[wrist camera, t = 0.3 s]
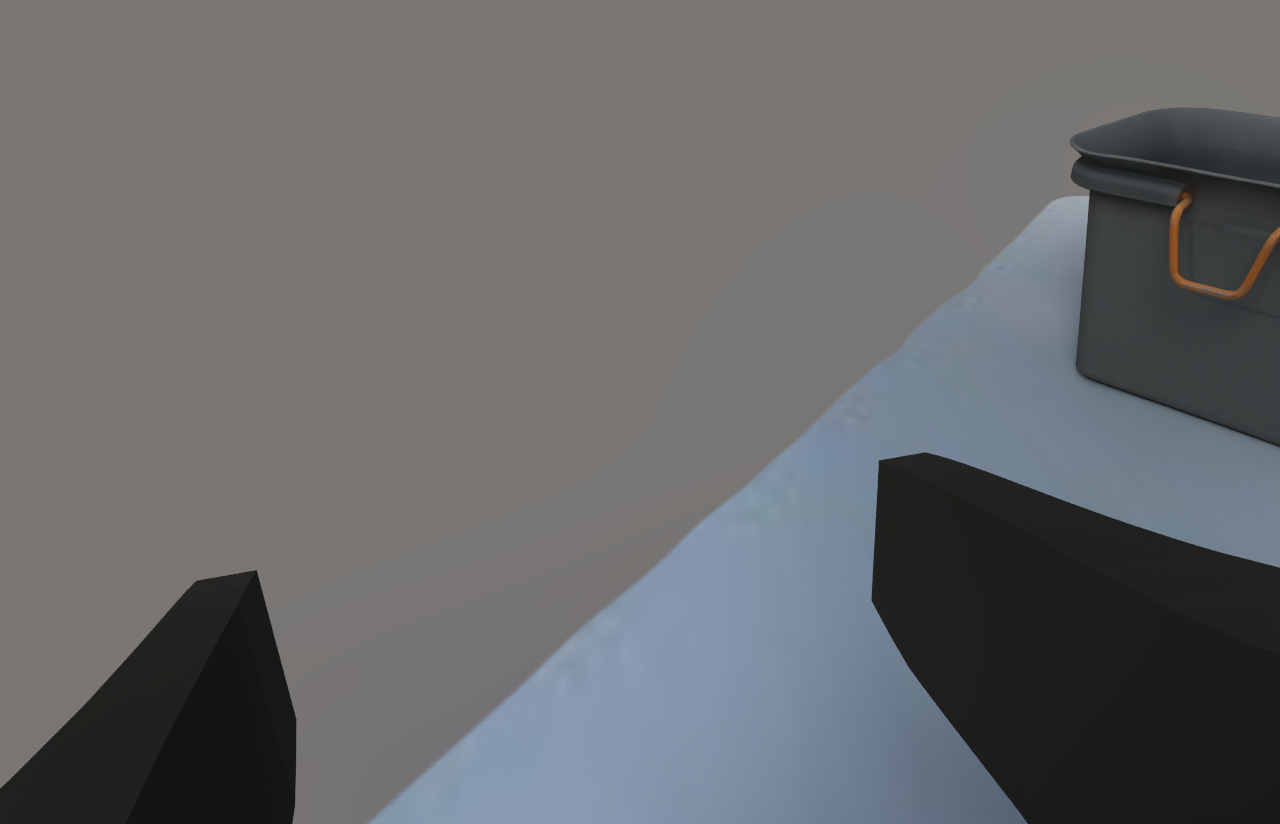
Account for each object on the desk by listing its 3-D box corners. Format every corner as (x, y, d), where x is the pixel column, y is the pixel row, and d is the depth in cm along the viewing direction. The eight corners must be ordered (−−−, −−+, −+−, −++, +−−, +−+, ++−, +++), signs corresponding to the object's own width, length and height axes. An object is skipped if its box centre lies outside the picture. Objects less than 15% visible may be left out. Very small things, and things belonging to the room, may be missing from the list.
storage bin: (1523, 431, 51) (1641, 156, 44) (1409, 549, 43) (1531, 236, 36) (1130, 318, 66) (1172, 102, 59) (991, 390, 58) (1022, 150, 51)
